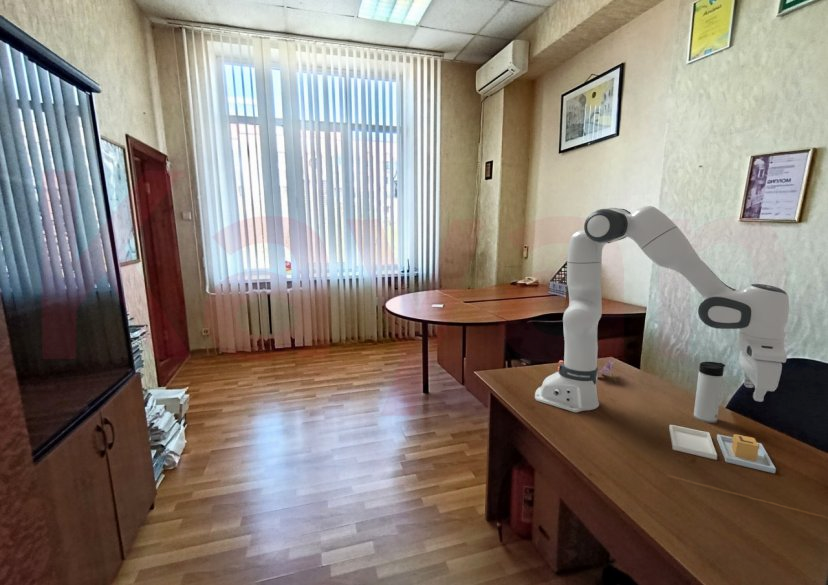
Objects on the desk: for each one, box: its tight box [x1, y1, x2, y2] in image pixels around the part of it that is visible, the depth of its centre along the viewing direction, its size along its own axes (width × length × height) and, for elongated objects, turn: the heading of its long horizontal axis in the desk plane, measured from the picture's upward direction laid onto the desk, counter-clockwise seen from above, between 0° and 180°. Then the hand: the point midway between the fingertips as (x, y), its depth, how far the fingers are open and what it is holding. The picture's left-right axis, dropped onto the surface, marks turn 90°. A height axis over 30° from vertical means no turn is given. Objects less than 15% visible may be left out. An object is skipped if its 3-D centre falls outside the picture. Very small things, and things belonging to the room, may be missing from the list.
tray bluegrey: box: [716, 433, 777, 474], centre depth 104 cm, size 10×13×2 cm
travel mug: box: [693, 361, 726, 424], centre depth 122 cm, size 6×7×20 cm
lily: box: [598, 358, 618, 382], centre depth 157 cm, size 12×12×10 cm
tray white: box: [668, 424, 718, 461], centre depth 110 cm, size 10×13×2 cm
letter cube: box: [732, 433, 759, 461], centre depth 104 cm, size 4×4×5 cm
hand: (752, 393), depth 101 cm, fingers open, 8 cm apart
